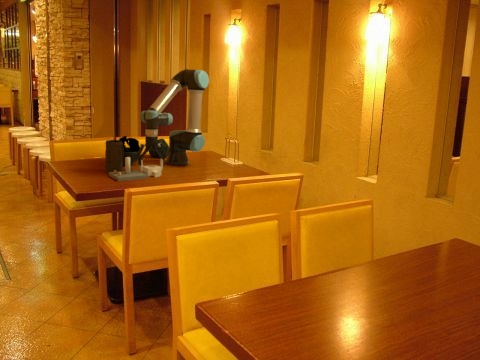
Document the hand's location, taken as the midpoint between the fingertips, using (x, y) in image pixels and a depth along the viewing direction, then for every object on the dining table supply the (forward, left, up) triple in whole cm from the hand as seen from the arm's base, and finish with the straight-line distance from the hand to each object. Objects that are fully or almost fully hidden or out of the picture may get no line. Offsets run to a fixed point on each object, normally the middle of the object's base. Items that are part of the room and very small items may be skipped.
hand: (151, 169), depth 310 cm
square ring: (0, +2, -3) cm, 4 cm away
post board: (+16, +1, -3) cm, 16 cm away
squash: (-29, -50, -3) cm, 58 cm away
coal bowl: (+3, -34, -3) cm, 34 cm away
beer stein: (+16, -19, -3) cm, 25 cm away
